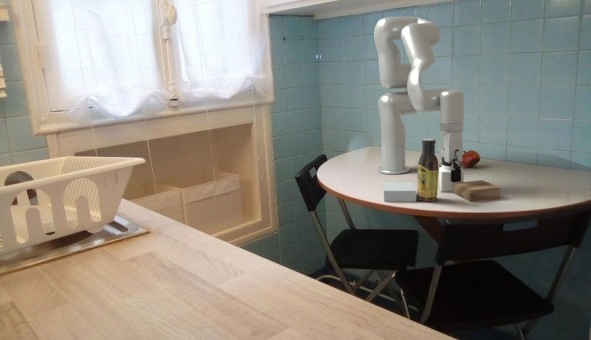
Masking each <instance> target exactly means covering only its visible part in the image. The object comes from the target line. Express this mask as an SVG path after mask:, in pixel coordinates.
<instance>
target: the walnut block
mask: <svg viewBox="0 0 591 340" xmlns="http://www.w3.org/2000/svg"><path fill="white" fill-rule="evenodd" d="M500 192H501V187H500V186H498V185H496V184H493V183H490V182H487V181H485V180H484V179H483V180H481V179H480V180H469V181H463V182H460V183H454V192H453V194H454V195H455V196H458V197H460V198H461V199H463V200H466V201H468V202H470V203H472V202H473V201H474V202H479V201H480V202H481V200H483V201H489V200H490V199H491V200H500V195H501V193H500Z"/></svg>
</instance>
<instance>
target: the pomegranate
mask: <svg viewBox="0 0 591 340" xmlns="http://www.w3.org/2000/svg"><path fill="white" fill-rule="evenodd" d="M480 161H481V155H480V154H479V153H478V152H477V151H475V150H472V149H471V150H468V151H466V150H463V155H462V166H463V167H464V168H467V169H468V168H473V167H474V168H475V169H476V170H478V168H477V167H476V165H477V164H478V163H479V162H480Z"/></svg>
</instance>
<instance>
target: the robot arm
mask: <svg viewBox="0 0 591 340" xmlns="http://www.w3.org/2000/svg"><path fill="white" fill-rule="evenodd" d="M441 34H442V33H441V30H440V28H439V26H438V25H437V24H436V23H434V22H432V21H430V20H428V19H424V18H422V17H419V16H413V15H412V16H405V15H404V16H386V17H383V18H381V19H379V20H378V21H377V23H376V24H375V27H374V31H373V40H374V44H375V48H376V51H377V56H378V60H377V61H378V71H379V79H380V80H379V81H380V85H381V87H382V88H383V89H386V90H397V89H398V90H399V89H402V90H403V91H396V92H388V93H387V92H386V93H384V94H383V95H381V96H380V97H379V99H378V101H377V102H378V103H377V108H378V113H379V119H380V120H379V121H380V143H381V144H380V146H381V147H380V148H381V149H380V150H381V156H380V158H381V165H380V166H378V168H377V172H378V173H379V174H385V175H401V174H407V173H409V172H410V167H409V166H406V126H405V123H404V121H403V120H402V118H401V117H404V116H411V115H412V116H413V115H417V114H418V113H421V114H422V113H423V114H424V113H433V112H439V133H440V135H439V150H438V157H439V160H441V161H442V157H444V161H445V162H447V163H450V162H451V166H452V170H451V182H460V181H461V169H462V166H463V165H462V156H463V154H464V152H463V151H464V150H463V136H462V135H463V132H464V118H465V117H464V116H465V115H464V114H465V113H464V111H465V106H464V105H465V98H464V97H465V94H464V92H463V90H461V89H460V90H459V89H447V88H436V89H435V88H434V89H424V86H423V84H422V81H421V75H422V73H423V72H424V73H425V71H427V70H429V69H430V68H432V67H433V65H435V62H436V57H435V53H434V52H433V49H432V47H435V46H436V45H438V43H440V41H441V36H442V35H441ZM398 40H399V41H402V44H403V45H402V46H403V47H404V50H405V53H406V56H407V58H408V61H409V63H402V59H401V51H400V49H399V48H398V45H397V44H396V43H395V42H394V41H398ZM454 159H457V161H453V160H454ZM455 163H456V164H455ZM454 164H455V166H454Z"/></svg>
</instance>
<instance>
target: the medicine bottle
mask: <svg viewBox="0 0 591 340" xmlns="http://www.w3.org/2000/svg"><path fill="white" fill-rule="evenodd" d="M453 161H457V159H454V160H453ZM455 164H456V163H455ZM455 164H454V166H455ZM451 170H452V166H451V162H450V163H447V162H445V161H444V157H442V160H441V166H438V188H439V189H440V192H441V193H454V183H460V182H464V177H465V176H464V174H465V173H464V170H463V168H461V181H460V182H451Z"/></svg>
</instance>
